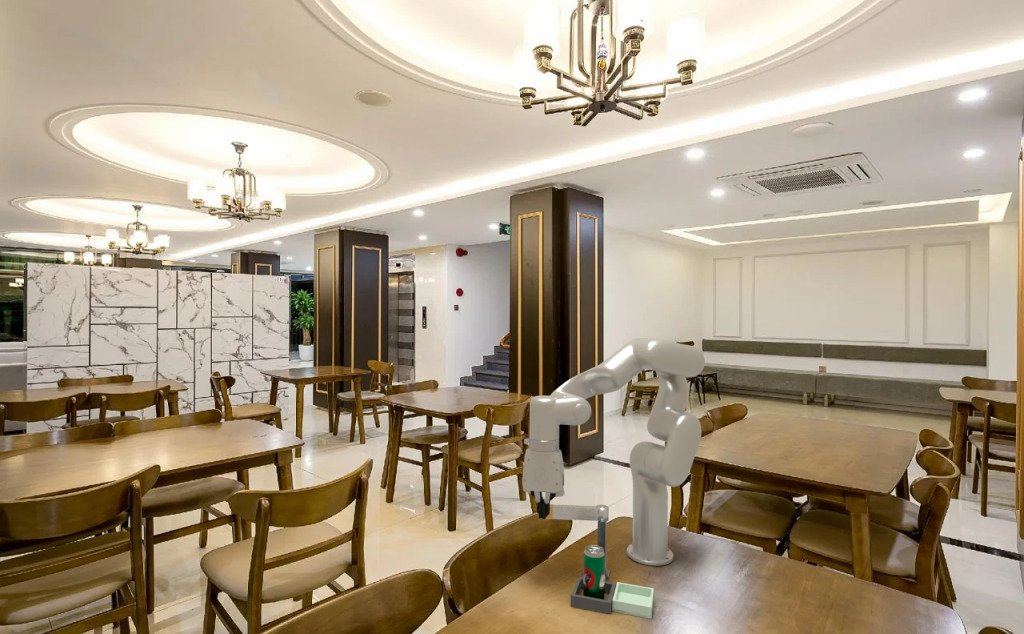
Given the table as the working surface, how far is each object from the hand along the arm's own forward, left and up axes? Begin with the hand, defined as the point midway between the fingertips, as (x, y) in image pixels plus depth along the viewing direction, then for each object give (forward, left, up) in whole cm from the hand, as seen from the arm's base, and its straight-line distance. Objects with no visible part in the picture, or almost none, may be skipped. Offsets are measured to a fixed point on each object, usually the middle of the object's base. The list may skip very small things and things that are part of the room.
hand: (543, 516), depth 128 cm
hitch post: (-4, +14, -16) cm, 21 cm away
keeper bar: (-5, +7, -1) cm, 9 cm away
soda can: (+5, +14, -16) cm, 22 cm away
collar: (+5, +14, -16) cm, 22 cm away
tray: (+4, +23, -16) cm, 28 cm away
